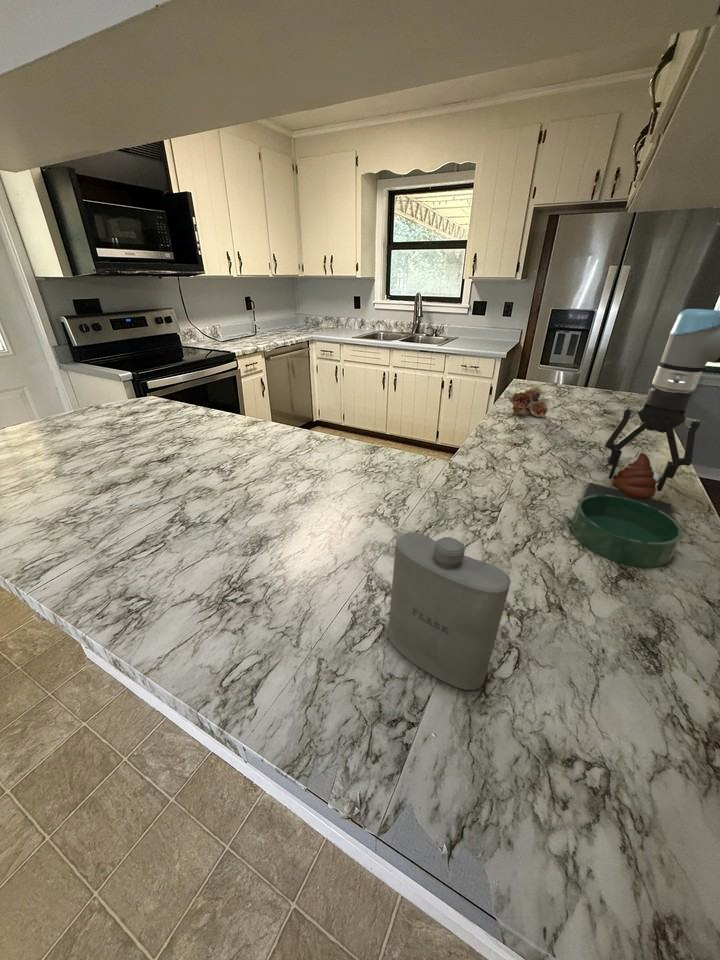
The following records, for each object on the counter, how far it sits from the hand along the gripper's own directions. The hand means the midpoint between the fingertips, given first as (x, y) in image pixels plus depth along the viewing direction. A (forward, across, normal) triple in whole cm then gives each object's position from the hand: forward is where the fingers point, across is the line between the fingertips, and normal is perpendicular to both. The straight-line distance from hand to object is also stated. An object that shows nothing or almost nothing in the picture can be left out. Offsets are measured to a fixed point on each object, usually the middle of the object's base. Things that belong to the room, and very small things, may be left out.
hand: (634, 482), depth 94 cm
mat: (+6, 0, 0) cm, 6 cm away
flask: (+6, -19, -68) cm, 71 cm away
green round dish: (+6, 0, -18) cm, 19 cm away
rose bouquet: (+6, -38, +56) cm, 69 cm away
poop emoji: (+2, 0, 0) cm, 2 cm away
